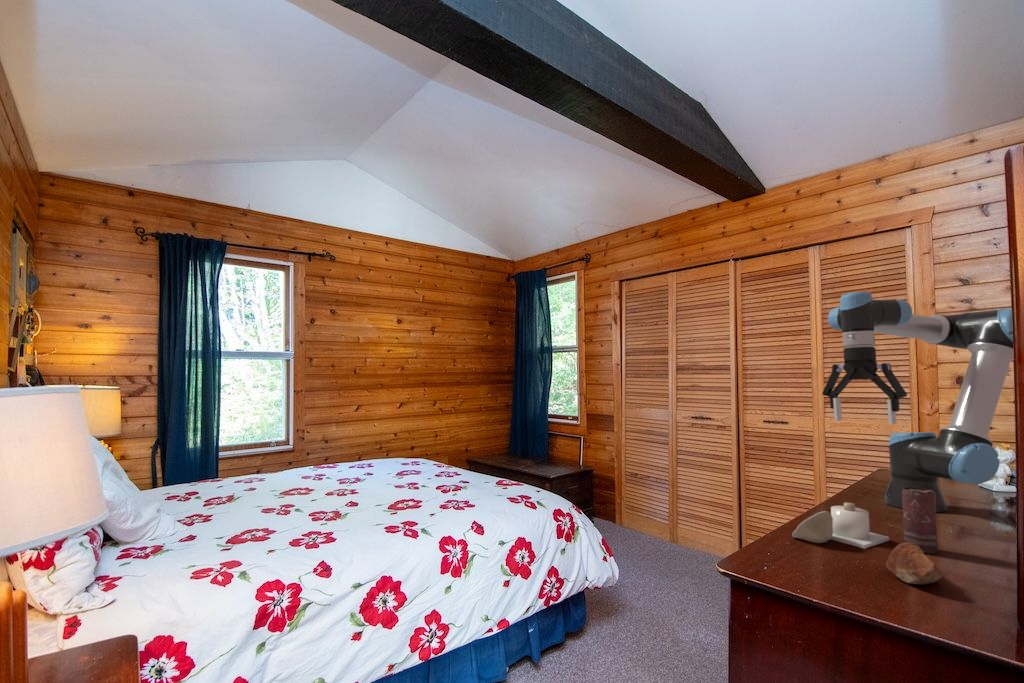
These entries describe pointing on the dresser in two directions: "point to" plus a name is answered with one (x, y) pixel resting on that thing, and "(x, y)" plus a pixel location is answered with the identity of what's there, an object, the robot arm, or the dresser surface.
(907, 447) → the robot arm
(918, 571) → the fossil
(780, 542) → the dresser surface
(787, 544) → the dresser surface
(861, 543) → the mat
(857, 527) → the cloche
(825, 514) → the stone
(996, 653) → the dresser surface
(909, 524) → the can
